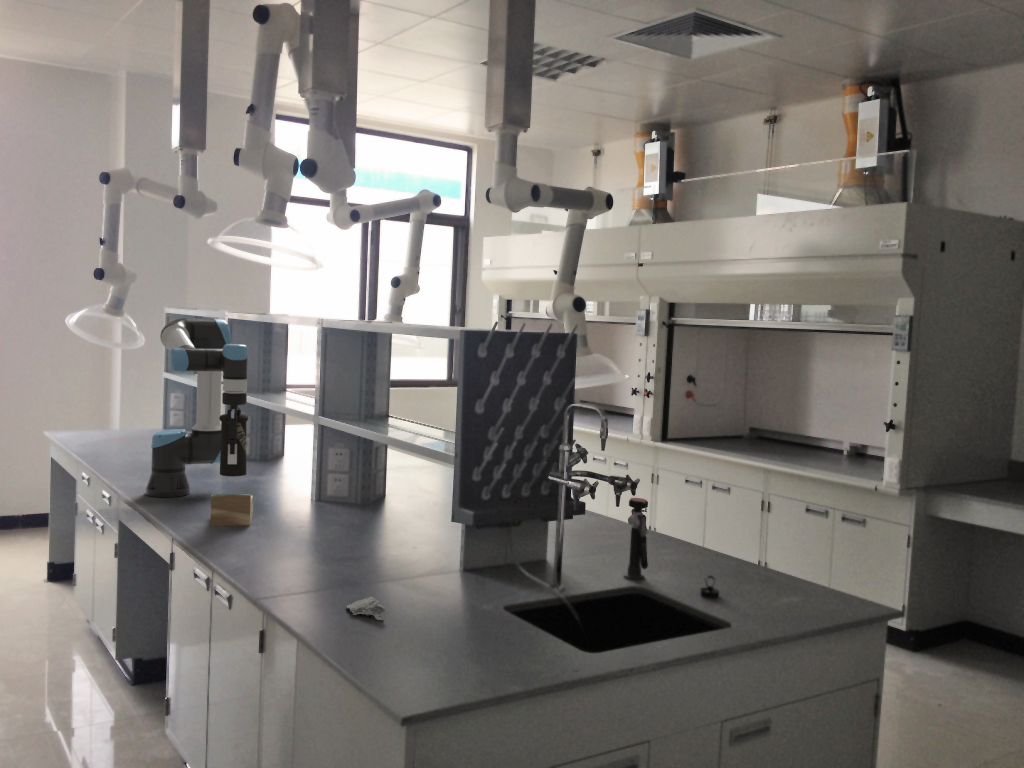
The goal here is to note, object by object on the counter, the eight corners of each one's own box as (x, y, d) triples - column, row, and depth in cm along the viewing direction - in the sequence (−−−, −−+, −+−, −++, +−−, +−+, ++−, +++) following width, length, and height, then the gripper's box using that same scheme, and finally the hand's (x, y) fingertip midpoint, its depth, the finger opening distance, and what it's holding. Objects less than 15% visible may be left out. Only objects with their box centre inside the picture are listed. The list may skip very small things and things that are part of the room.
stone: (359, 626, 200) (360, 609, 200) (343, 608, 211) (344, 591, 210) (386, 623, 203) (387, 606, 203) (369, 605, 214) (370, 589, 213)
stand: (215, 513, 300) (216, 484, 299) (253, 513, 303) (253, 484, 302) (210, 525, 283) (211, 495, 283) (249, 525, 286) (250, 495, 285)
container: (239, 477, 285) (240, 415, 284) (213, 475, 287) (214, 413, 286) (252, 473, 294) (253, 413, 292) (227, 471, 296) (228, 411, 294)
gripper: (225, 389, 298) (224, 456, 300) (219, 394, 278) (218, 467, 279) (248, 389, 300) (247, 456, 301) (244, 395, 279) (243, 467, 281)
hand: (233, 461), depth 290 cm, fingers closed on container, 8 cm apart
